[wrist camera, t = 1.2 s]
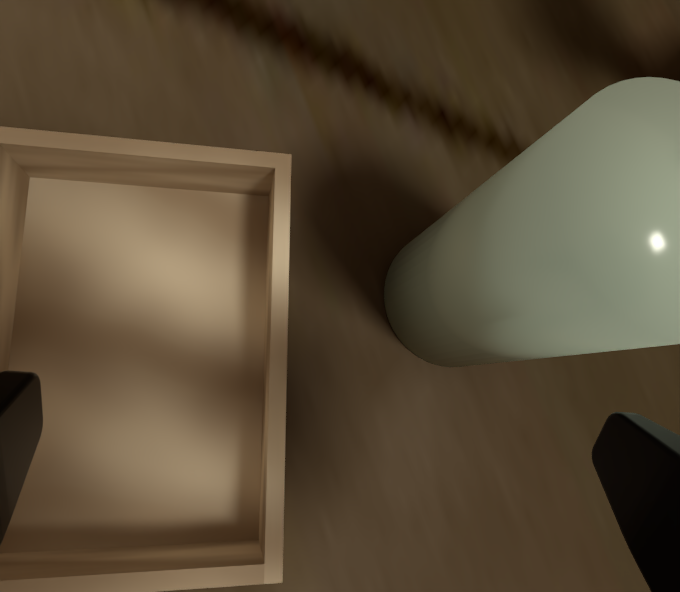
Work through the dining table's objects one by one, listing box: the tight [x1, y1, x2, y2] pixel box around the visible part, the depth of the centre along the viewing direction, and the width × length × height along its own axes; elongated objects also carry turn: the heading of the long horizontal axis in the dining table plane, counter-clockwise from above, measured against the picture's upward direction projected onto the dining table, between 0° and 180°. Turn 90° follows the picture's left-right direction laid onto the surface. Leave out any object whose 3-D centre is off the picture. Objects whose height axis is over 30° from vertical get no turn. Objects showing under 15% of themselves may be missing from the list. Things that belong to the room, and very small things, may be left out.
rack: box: [0, 126, 291, 592], centre depth 19 cm, size 15×14×4 cm
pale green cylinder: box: [384, 77, 680, 367], centre depth 19 cm, size 6×6×13 cm
